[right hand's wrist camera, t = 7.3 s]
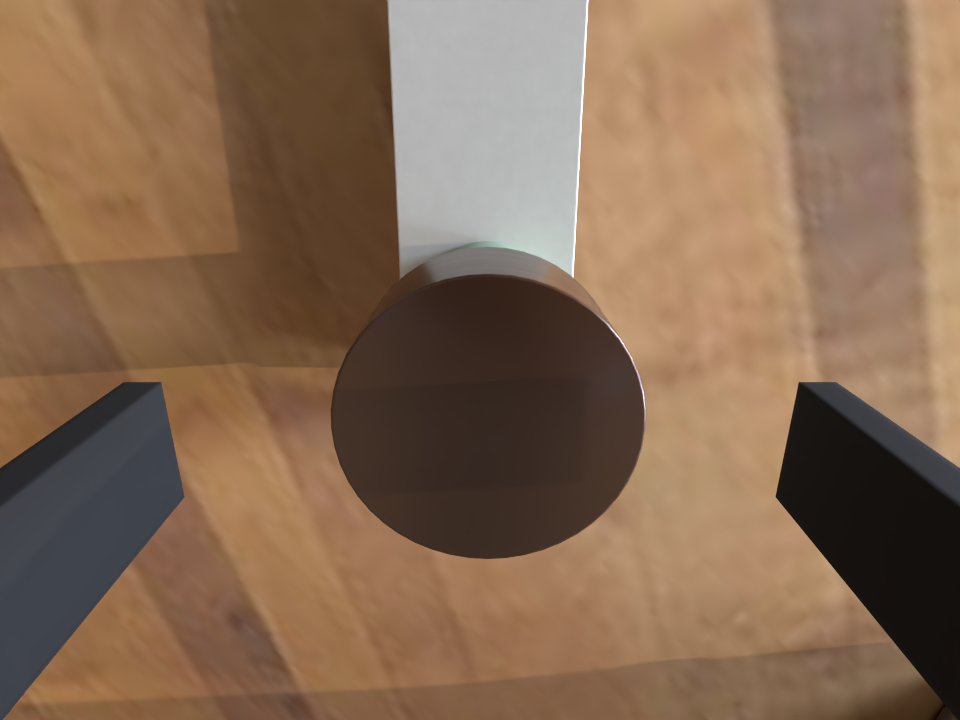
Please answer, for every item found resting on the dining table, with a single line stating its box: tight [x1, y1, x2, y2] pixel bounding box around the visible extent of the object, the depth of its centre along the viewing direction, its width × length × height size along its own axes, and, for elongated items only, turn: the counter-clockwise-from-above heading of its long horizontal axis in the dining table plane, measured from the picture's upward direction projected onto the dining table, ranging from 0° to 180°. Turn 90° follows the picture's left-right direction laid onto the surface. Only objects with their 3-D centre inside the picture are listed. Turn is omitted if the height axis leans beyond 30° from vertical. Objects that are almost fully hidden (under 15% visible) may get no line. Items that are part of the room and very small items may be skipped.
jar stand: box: [387, 0, 588, 279], centre depth 18 cm, size 26×7×10 cm, turn 0°
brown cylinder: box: [331, 247, 646, 559], centre depth 15 cm, size 7×7×4 cm
